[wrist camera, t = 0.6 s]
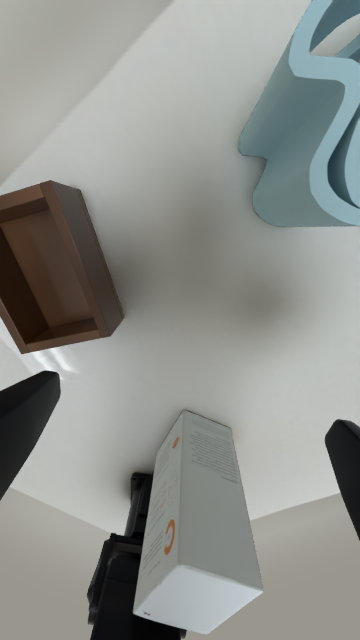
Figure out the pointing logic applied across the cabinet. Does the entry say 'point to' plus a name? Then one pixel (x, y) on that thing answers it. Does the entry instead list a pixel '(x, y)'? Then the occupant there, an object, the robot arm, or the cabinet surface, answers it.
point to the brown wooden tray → (53, 270)
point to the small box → (197, 532)
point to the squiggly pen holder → (310, 128)
